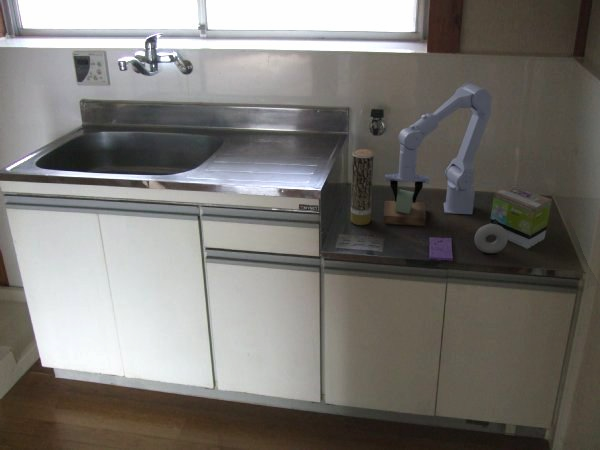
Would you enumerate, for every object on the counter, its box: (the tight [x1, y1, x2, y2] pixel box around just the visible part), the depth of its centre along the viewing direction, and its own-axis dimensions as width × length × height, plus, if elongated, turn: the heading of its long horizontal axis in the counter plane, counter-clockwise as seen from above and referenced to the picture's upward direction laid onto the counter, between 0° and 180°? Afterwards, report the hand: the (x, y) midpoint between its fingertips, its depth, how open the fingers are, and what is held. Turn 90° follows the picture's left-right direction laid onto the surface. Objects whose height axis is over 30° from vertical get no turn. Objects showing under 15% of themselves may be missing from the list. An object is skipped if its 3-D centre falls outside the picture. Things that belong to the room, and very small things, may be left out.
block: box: [395, 189, 414, 214], centre depth 218 cm, size 5×5×6 cm
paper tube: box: [350, 148, 374, 226], centre depth 213 cm, size 7×7×25 cm
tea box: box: [489, 184, 553, 250], centre depth 205 cm, size 15×10×15 cm
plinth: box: [382, 200, 427, 227], centre depth 221 cm, size 14×12×3 cm
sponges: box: [428, 236, 454, 261], centre depth 201 cm, size 7×13×2 cm, turn 170°
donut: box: [474, 223, 509, 254], centre depth 197 cm, size 10×4×10 cm, turn 82°
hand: (405, 201), depth 219 cm, fingers closed on block, 5 cm apart
